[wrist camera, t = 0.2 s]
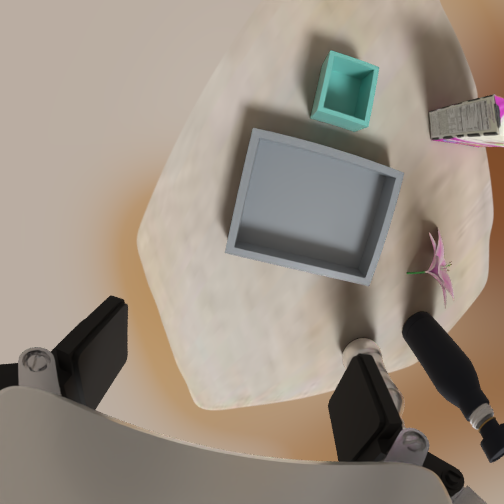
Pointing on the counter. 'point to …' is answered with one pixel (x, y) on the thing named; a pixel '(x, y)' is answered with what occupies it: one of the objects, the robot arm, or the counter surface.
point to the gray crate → (312, 208)
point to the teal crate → (345, 92)
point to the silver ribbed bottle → (373, 349)
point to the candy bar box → (470, 122)
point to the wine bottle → (454, 378)
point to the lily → (439, 268)
